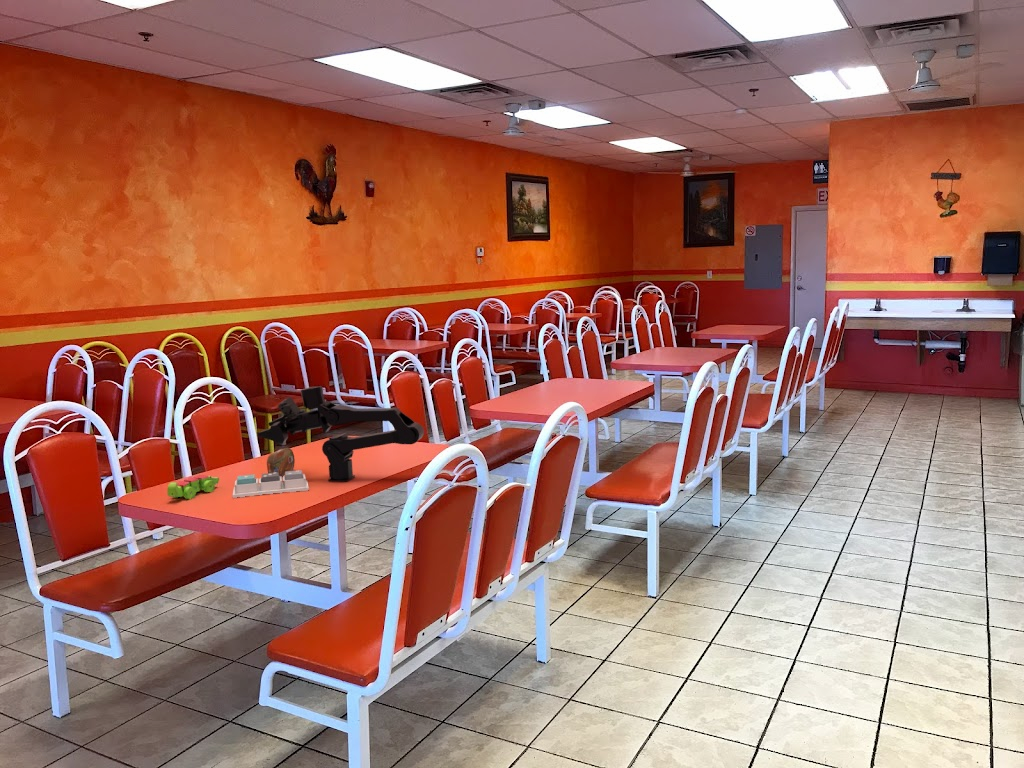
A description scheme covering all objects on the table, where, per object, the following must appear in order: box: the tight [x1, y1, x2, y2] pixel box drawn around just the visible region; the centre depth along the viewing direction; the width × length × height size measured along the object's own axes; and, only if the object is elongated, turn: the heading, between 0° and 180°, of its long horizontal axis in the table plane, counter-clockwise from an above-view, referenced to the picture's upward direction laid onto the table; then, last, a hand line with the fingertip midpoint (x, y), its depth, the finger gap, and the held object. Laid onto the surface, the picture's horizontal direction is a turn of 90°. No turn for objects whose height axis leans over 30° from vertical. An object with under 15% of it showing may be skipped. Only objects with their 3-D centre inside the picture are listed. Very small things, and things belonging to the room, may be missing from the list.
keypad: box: [232, 473, 310, 499], centre depth 256 cm, size 22×9×4 cm, turn 106°
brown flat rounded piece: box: [266, 447, 296, 478], centre depth 276 cm, size 15×3×8 cm, turn 168°
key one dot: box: [236, 473, 256, 485], centre depth 254 cm, size 5×5×3 cm
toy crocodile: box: [166, 474, 220, 500], centre depth 254 cm, size 20×7×6 cm, turn 157°
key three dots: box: [261, 472, 279, 482], centre depth 256 cm, size 5×5×3 cm
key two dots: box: [285, 469, 303, 480], centre depth 258 cm, size 5×5×3 cm
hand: (263, 429), depth 269 cm, fingers open, 9 cm apart
